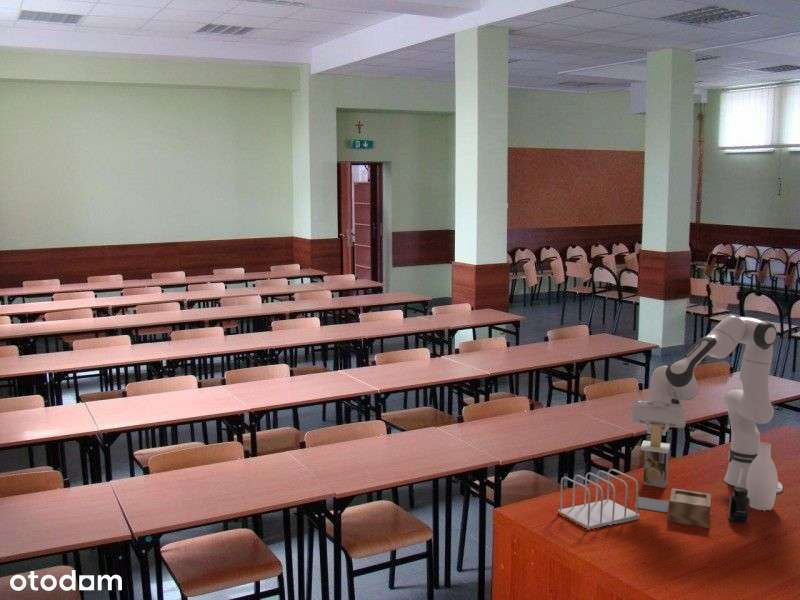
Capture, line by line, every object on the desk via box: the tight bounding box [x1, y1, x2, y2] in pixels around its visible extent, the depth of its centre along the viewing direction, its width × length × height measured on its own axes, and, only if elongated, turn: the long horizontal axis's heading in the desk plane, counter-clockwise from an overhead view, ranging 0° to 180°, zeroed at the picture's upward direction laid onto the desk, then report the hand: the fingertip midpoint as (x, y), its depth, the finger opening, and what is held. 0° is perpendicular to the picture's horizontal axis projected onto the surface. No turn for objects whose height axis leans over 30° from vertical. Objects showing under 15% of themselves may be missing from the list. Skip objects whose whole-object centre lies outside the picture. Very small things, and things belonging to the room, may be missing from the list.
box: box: [667, 487, 712, 529], centre depth 289 cm, size 14×14×8 cm
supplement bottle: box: [727, 486, 750, 524], centre depth 288 cm, size 7×7×12 cm
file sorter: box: [557, 468, 641, 529], centre depth 288 cm, size 25×17×16 cm
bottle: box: [746, 441, 779, 512], centre depth 301 cm, size 11×11×25 cm
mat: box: [634, 496, 670, 514], centre depth 302 cm, size 12×12×1 cm
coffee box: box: [642, 450, 669, 489], centre depth 324 cm, size 9×6×16 cm
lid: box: [640, 424, 671, 455], centre depth 298 cm, size 10×10×9 cm
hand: (656, 433), depth 297 cm, fingers closed on lid, 4 cm apart
